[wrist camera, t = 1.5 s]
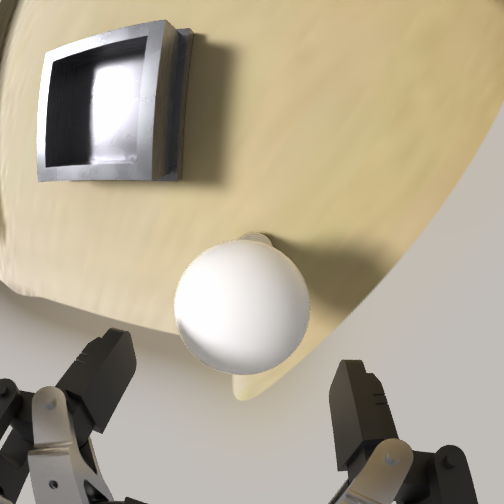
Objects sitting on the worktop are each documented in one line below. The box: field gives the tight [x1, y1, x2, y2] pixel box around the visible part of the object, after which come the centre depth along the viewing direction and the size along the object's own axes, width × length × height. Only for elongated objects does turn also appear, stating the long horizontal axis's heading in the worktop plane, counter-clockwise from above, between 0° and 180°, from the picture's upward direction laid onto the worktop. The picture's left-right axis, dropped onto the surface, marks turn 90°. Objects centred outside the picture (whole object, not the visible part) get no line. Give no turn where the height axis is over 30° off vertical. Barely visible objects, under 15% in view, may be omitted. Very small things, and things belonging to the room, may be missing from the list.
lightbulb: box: [174, 232, 311, 375], centre depth 15 cm, size 6×6×11 cm
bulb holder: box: [37, 20, 194, 182], centre depth 15 cm, size 11×11×4 cm
